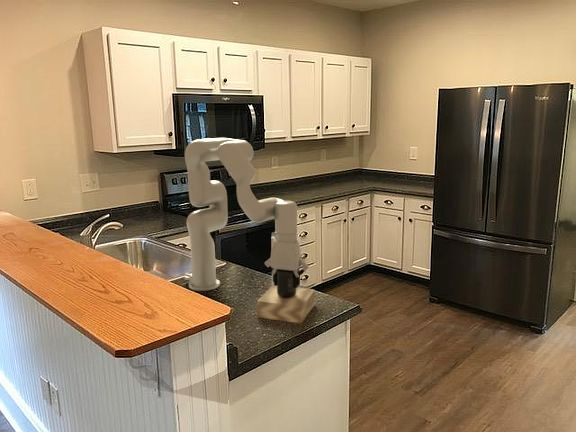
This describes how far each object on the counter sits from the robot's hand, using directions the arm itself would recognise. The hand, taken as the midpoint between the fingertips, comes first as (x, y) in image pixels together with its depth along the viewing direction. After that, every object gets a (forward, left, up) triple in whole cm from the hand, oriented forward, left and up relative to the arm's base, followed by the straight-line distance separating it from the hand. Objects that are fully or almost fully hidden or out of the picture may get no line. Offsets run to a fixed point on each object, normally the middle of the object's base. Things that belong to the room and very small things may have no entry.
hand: (286, 285), depth 164 cm
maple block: (0, 0, -10) cm, 10 cm away
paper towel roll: (-10, +21, -10) cm, 25 cm away
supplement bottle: (0, 0, -4) cm, 4 cm away
